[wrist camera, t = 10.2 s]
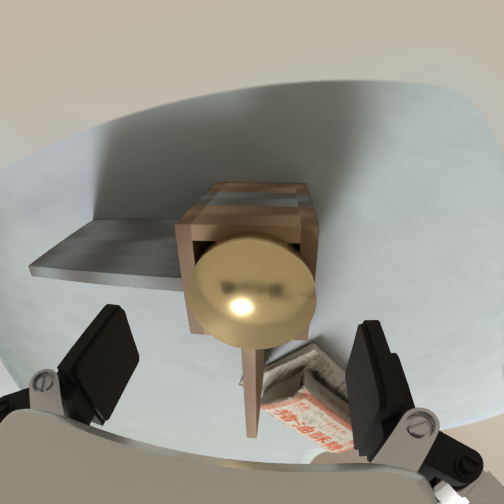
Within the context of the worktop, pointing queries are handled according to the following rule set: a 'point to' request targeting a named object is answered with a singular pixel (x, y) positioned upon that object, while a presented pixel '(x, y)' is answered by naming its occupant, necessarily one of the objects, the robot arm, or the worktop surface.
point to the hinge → (189, 252)
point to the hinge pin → (252, 291)
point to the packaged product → (309, 398)
